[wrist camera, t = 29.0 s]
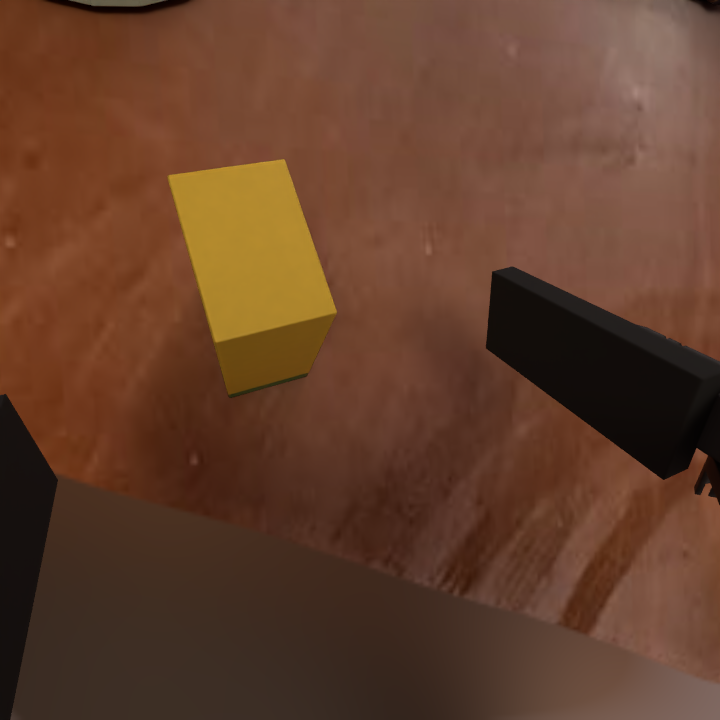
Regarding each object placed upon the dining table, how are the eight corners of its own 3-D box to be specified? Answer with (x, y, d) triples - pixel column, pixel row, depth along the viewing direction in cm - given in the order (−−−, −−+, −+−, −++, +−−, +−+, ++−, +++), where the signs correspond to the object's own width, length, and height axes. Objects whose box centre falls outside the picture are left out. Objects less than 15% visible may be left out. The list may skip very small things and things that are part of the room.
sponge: (229, 398, 22) (214, 343, 14) (197, 287, 24) (166, 174, 15) (307, 376, 24) (337, 312, 15) (274, 271, 25) (284, 158, 16)
